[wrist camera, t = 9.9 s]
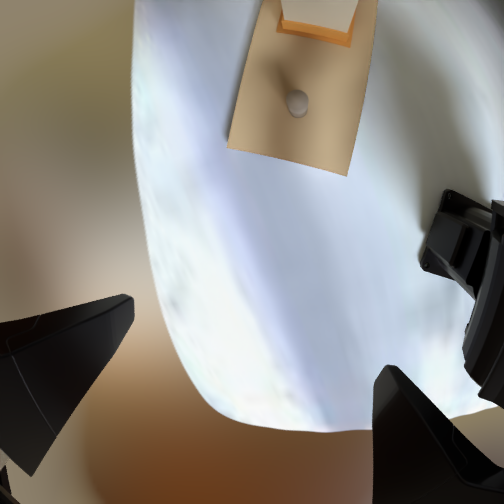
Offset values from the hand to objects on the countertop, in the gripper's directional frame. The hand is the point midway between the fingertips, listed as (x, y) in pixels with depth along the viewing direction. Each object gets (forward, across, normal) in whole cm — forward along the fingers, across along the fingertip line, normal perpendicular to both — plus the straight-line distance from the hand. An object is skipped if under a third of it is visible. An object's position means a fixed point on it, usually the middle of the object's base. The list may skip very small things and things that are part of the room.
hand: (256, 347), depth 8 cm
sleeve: (+11, +1, -17) cm, 20 cm away
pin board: (+12, +1, -13) cm, 18 cm away
